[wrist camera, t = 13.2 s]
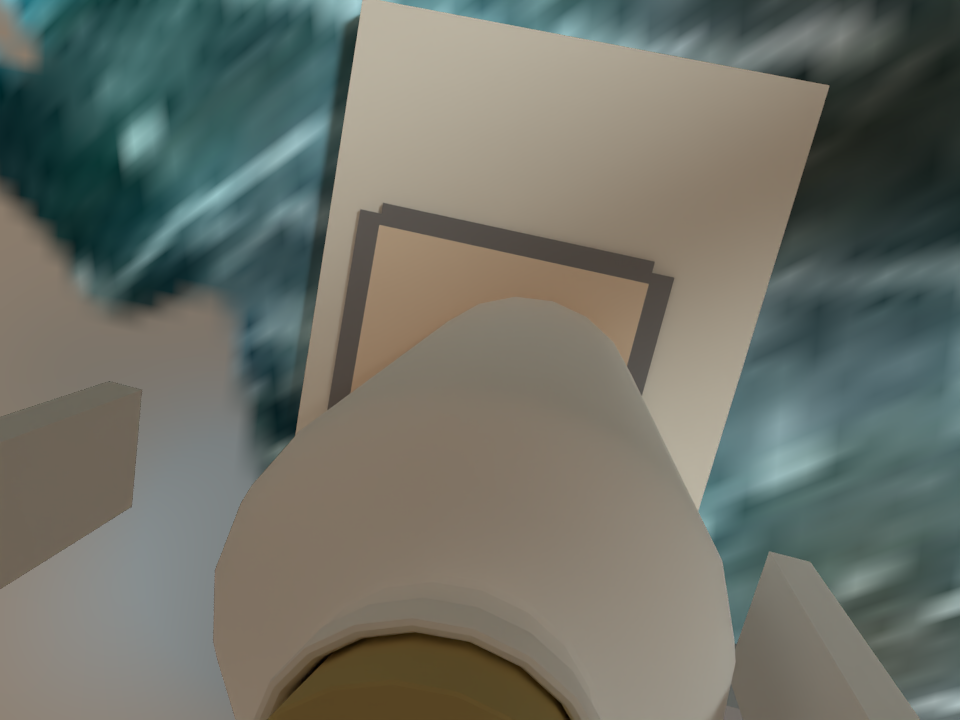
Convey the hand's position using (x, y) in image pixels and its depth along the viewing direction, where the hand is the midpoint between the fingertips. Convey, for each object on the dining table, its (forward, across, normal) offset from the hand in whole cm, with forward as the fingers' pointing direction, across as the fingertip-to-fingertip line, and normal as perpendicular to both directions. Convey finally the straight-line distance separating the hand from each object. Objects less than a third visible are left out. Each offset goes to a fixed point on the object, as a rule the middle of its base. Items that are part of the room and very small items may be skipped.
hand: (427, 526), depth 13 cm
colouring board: (+13, 0, +2) cm, 13 cm away
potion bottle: (+12, +1, 0) cm, 12 cm away
